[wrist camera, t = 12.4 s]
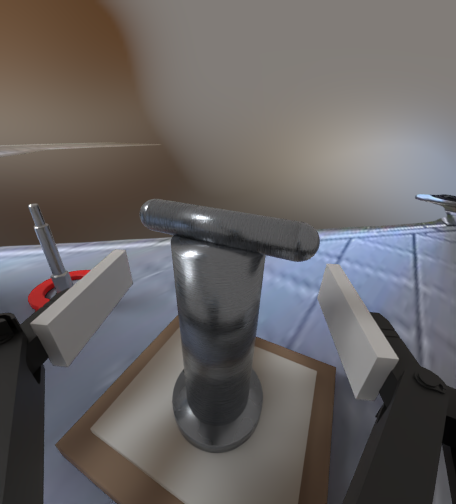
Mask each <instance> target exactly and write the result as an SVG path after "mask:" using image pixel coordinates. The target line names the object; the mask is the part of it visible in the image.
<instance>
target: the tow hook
mask: <svg viewBox="0 0 456 504" xmlns="http://www.w3.org/2000/svg"><path fill="white" fill-rule="evenodd" d="M28 207H29V209H30V212H31V215H32V217H33V220H34V222H35V226H34V229H35V232H36V234H37V237H38V239H39V242H40V244H41V247H42V249H43V252H44V254H45V257H46V259H47V261H48V264H49V266H50V269H51V271H52V275H51V278H50V279H48V280H46V281H44V282H43V283H41V284H40V285H38V286H37V287H36V288H34V289H33V290H32V291H31V293H30V294H29V296H28V302H29V304H30V306H31V307H32V308H33V309H35V310H36V311H37V310H38V309H40V308H41V307H43V305H44V304H45V303H47V302H48V301H50V299H47V298H45V295H46V293H47V292H48V291H49V290H51V289H52V288H54V287H55V289H56V290H57V293H59V292H61V291H63V290H65V289H67V288H71V287H72V286H73V282H72V280H77V279H82V278H83V277H84V276H85V275H86V274H87V273H88V272H90V271H91V270H79V271H73V272H68V271H65V268H64V266H63V263H62V260H61V257H60V255H59V252H58V249H57V247H56V244H55V241H54V239H53V236H52V233H51V231H50V228H49V225H48V224H45V222H44V219H43V216H42V214H41V211H40V209H39V206H38V204H30V205H28ZM57 293H56V294H57ZM36 311H35V312H36Z"/></svg>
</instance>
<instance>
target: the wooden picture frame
mask: <svg viewBox="0 0 456 504" xmlns="http://www.w3.org/2000/svg"><path fill="white" fill-rule="evenodd" d="M252 368H253V370H254V371H255V372H256V374H257V376H258V378H259V380H260V383H261V386H262V391H263V404H262V410H261V415H260V419H259V422H258V425H257V427H256V429H255V431H254V432H253V434H252V435H251V437H250V438H249V439H248V440H247V441H246V442H245V443H243V444H242V445H241V446H239V447H237V448H236V449H233V450H231V451H228V452H223V453H210V452H205V451H202V450H200V449H198V448H196V447H194V446H193V445H191V444H190V443H189V442H188V441H187V440H186V439H185V438H184V437H183V435H182V434H181V432H180V431H179V429H178V427H177V424H176V421H175V417H174V411H173V403H172V396H173V389H174V386H175V383H176V380H177V378H178V376H179V375H180V373H181V372H182V370H183V369H184V364H183V354H182V345H181V335H180V326H179V316H178V315H177V316H176V318H175V319H174V320H173V321H172V322H171V323H170V324H169V325H168V326H167V327H166V328H165V329H164V330H163V331H162V332H161V333H160V334H159V336H158V337H157V338H156V339H155V340H154V341H153V342H152V343H151V344H150V345H149V346H148V347H147V348H146V349H145V350H144V351H143V352H142V353H141V355H140V356H139V357H138V358H137V359H136V360H135V361H134V362H133V363H132V364H131V365H130V366H129V367H128V368H127V369H126V370H125V371H124V373H123V374H122V375H121V376H120V377H119V378H118V379H117V380H116V381H115V382H114V383H113V384H112V385H111V386H110V387H109V388H108V389H107V391H106V392H105V393H104V394H103V395H102V396H101V397H100V398H99V399H98V400H97V401H96V402H95V403H94V404H93V405H92V406H91V407H90V409H89V410H88V411H87V412H86V413H85V414H84V415H83V416H82V417H81V418H80V419H79V420H78V421H77V422H76V423H75V424H74V425H73V427H72V428H71V429H70V430H69V431H68V432H67V433H66V434H65V435H64V436H63V437H62V438H61V439H60V440H59V441H58V442H57V443H56V445H55V446H56V447H57V448H58V450H59V451H60V453H61V454H62V455H63V456H64V457H65V458H66V459H67V460H68V461H69V462H71V463H72V464H73V465H74V466H75V467H76V468H77V469H78V470H80V471H81V472H82V473H83V474H84V475H85V476H86V477H87V478H89V479H90V480H91V481H92V482H93V483H94V484H95V485H96V486H98V487H99V488H100V489H101V490H102V491H103V492H104V493H105V494H107V495H108V496H109V497H110V498H111V499H112V500H113V501H114V502H116V503H117V504H327V495H328V480H329V465H330V450H331V435H332V420H333V405H334V390H335V374H336V367H333V366H331V365H328V364H326V363H323V362H320V361H318V360H315V359H313V358H310V357H307V356H305V355H302V354H300V353H297V352H294V351H292V350H289V349H287V348H284V347H281V346H279V345H276V344H274V343H271V342H268V341H266V340H263V339H261V338H258V337H256V339H255V347H254V355H253V364H252Z"/></svg>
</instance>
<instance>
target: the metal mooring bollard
mask: <svg viewBox="0 0 456 504" xmlns="http://www.w3.org/2000/svg"><path fill="white" fill-rule="evenodd" d="M140 219H141V221H142V223H143V224H144V225H145V226H146V227H147V228H148V229H150V230H153V231H158V232H162V233H167V234H171V235H174V236H173V237H172V239H171V249H172V259H173V268H174V278H175V288H176V297H177V307H178V316H179V326H180V335H181V345H182V354H183V364H184V369H183V370H182V372H181V373H180V375H179V376H178V378H177V380H176V383H175V386H174V389H173V396H172V403H173V411H174V417H175V421H176V424H177V427H178V429H179V431H180V432H181V434H182V435H183V437H184V438H185V439H186V440H187V441H188V442H189V443H190V444H191V445H193V446H194V447H196V448H198V449H200V450H202V451H205V452H210V453H223V452H228V451H231V450H233V449H236V448H237V447H239V446H241V445H242V444H243V443H245V442H246V441H247V440H248V439H249V438H250V437H251V435H252V434H253V432H254V431H255V429H256V427H257V425H258V422H259V419H260V415H261V410H262V404H263V391H262V386H261V383H260V380H259V378H258V376H257V374H256V372H255V371H254V370H253V368H252V364H253V355H254V347H255V339H256V330H257V322H258V314H259V305H260V297H261V288H262V280H263V272H264V263H265V255H267V256H272V257H276V258H281V259H286V260H290V261H296V262H301V261H306V260H308V259H310V258H311V257H313V256H314V255H315V254H316V252H317V250H318V248H319V244H320V239H319V235H318V233H317V231H316V230H315V228H314V227H312V226H311V225H309V224H307V223H304V222H298V221H293V220H286V219H279V218H273V217H267V216H261V215H255V214H248V213H242V212H235V211H230V210H223V209H217V208H211V207H205V206H198V205H192V204H186V203H180V202H173V201H167V200H160V199H152V200H149V201H147V202H145V203H144V204H143V206H142V207H141V210H140Z"/></svg>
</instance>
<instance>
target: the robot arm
mask: <svg viewBox="0 0 456 504" xmlns="http://www.w3.org/2000/svg"><path fill="white" fill-rule="evenodd" d="M132 284H133V281H132V276H131V272H130V267H129V263H128V258H127V254H126V250H116V249H115V250H114V251H112V252H111V253H110V254H109V255H108V256H107V257H106V258H104V259H103V260H102V261H101V262H100V263H99V264H98V265H96V266H95V267H94V268H93V269H92V270H91V271H90V272H88V273H87V274H86V275H85V276H84V277H83V278H82V279H80V280H79V281H78V282H77V283H76V284H75V285H74V286H72V287H71V288H67V289H65V290H63V291H61V292H59V293H57V294H56V295H55V296H54V297H53V298H51V299H50V301H48V302H47V303H45V304H44V305H43V307H41V308H40V309H38V310H37V311H36V312H35V313H34V314H32V315H31V316H30V317H29V318H28V319H26V320H25V321H24V322H23V323H22V324H21V325H20V324H19V322H18V321H17V319H16V317H15V316H14V314H11V313H2V314H0V504H43V481H44V399H45V368H44V365H43V363H44V362H45V361H46V360H47V359H48V358H49V359H50V361H51V363H52V365H53V366H61V367H69V365H70V364H71V363H72V362H73V360H74V359H75V358H76V356H77V355H78V354H79V353H80V351H81V350H82V349H83V347H84V346H85V345H86V344H87V342H88V341H89V340H90V338H91V337H92V336H93V335H94V333H95V332H96V331H97V329H98V328H99V327H100V326H101V324H102V323H103V322H104V320H105V319H106V318H107V316H108V315H109V314H110V313H111V311H112V310H113V309H114V307H115V306H116V305H117V304H118V302H119V301H120V300H121V298H122V297H123V296H124V295H125V293H126V292H127V291H128V289H129V288H130V287H131V286H132ZM318 301H319V303H320V306H321V309H322V311H323V314H324V317H325V319H326V322H327V325H328V327H329V330H330V333H331V335H332V338H333V340H334V343H335V346H336V348H337V351H338V354H339V356H340V359H341V362H342V364H343V367H344V369H345V372H346V375H347V377H348V380H349V383H350V385H351V388H352V391H353V393H354V396H355V398H356V399H360V400H369V401H375V399H376V397H377V396H378V394H379V393H380V395H381V398H382V400H383V402H384V404H383V405H382V407H381V408H380V410H379V411H378V413H377V415H376V416H375V417H377V419H376V422H375V424H374V427H373V429H372V432H371V434H370V437H369V439H368V442H367V444H366V447H365V449H364V452H363V454H362V456H361V459H360V461H359V464H358V466H357V469H356V471H355V474H354V476H353V479H352V481H351V484H350V486H349V489H348V491H347V494H346V496H345V499H344V501H343V504H432V502H433V496H434V489H435V483H436V477H437V470H438V464H439V458H440V451H441V445H442V446H443V451H444V457H445V463H446V469H447V475H448V481H449V486H450V492H451V498H452V504H456V389H454V388H451V387H449V386H446V384H445V383H444V382H443V381H442V380H441V379H440V378H439V377H438V376H437V375H436V374H434V373H433V372H431V371H430V370H428V369H426V368H423V367H421V366H420V365H419V364H418V362H417V361H416V359H415V358H414V356H413V355H412V354H411V352H410V351H409V349H408V348H407V347H406V345H405V344H404V342H403V341H402V339H400V337H399V335H398V334H397V332H396V331H395V329H394V328H393V327H392V325H391V324H390V322H389V321H388V320H387V319H386V318H384V317H383V316H382V315H381V314H380V313H373V312H369V311H368V309H367V308H366V306H365V304H364V303H363V301H362V300H361V298H360V297H359V295H358V293H357V292H356V290H355V289H354V287H353V286H352V284H351V282H350V281H349V279H348V278H347V276H346V274H345V273H344V271H343V270H342V268H341V267H340V265H336V264H327V265H326V268H325V272H324V276H323V280H322V283H321V287H320V291H319V294H318Z"/></svg>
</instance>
